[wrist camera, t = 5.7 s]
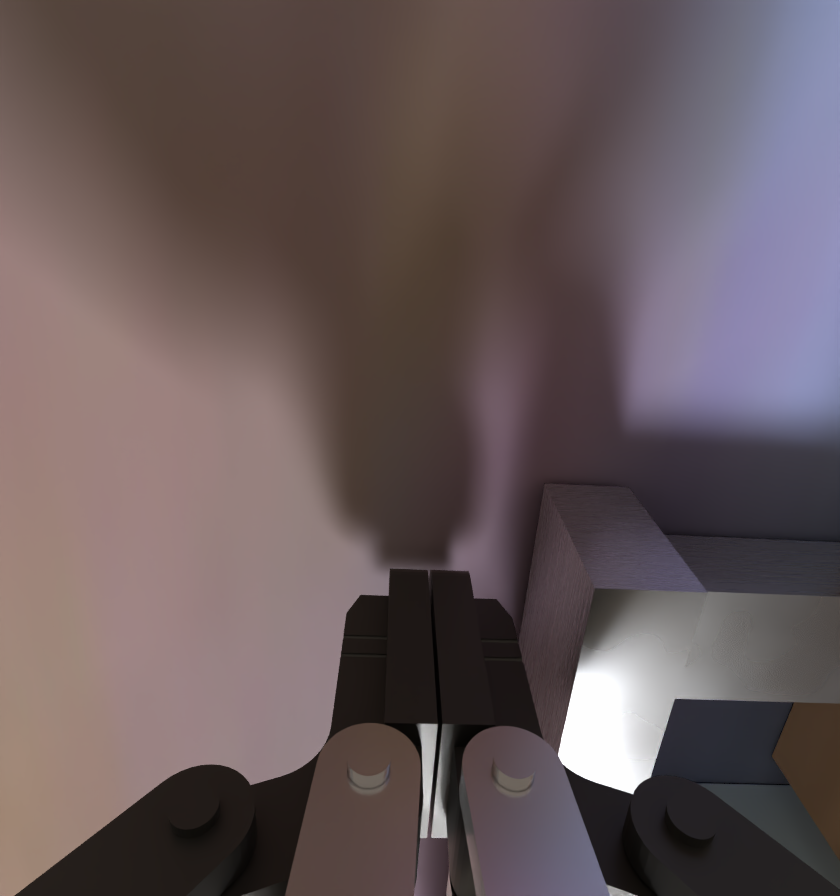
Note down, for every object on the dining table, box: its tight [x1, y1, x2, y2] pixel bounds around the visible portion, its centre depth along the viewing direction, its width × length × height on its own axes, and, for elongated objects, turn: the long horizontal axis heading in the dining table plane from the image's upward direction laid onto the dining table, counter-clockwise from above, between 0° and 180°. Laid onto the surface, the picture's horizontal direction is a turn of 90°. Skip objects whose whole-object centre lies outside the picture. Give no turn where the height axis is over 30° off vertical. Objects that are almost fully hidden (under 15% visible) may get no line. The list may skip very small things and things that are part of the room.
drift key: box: [518, 483, 840, 794], centre depth 11 cm, size 10×4×3 cm, turn 86°
